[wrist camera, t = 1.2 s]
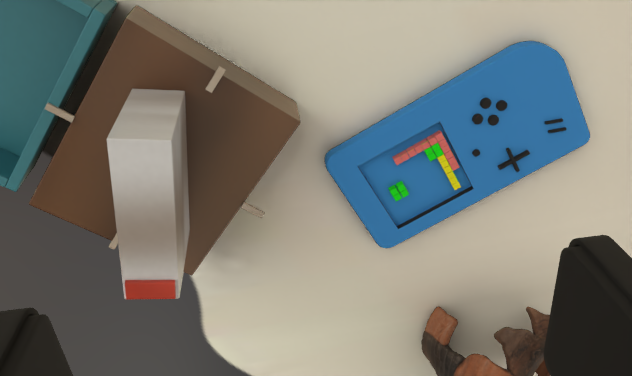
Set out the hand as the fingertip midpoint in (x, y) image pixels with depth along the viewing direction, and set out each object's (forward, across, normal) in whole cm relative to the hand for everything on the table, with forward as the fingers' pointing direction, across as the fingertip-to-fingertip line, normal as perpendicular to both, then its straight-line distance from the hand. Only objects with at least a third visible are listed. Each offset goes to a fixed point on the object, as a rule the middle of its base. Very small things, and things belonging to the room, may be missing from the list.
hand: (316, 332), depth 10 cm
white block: (+20, +7, +6) cm, 22 cm away
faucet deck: (+23, +7, +6) cm, 25 cm away
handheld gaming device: (+23, -11, +8) cm, 27 cm away
